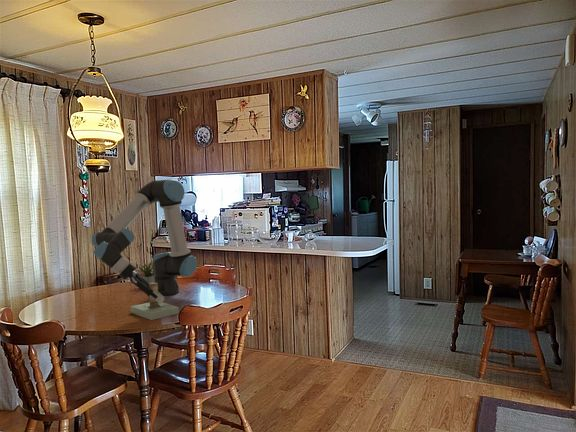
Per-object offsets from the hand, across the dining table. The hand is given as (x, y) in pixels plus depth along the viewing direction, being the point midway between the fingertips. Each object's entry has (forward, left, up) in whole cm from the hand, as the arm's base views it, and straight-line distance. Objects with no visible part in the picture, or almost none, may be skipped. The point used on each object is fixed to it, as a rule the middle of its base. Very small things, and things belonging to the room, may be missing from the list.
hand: (162, 300), depth 210 cm
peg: (-2, -3, -3) cm, 5 cm away
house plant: (-65, +28, -6) cm, 71 cm away
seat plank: (-2, -3, -5) cm, 7 cm away
